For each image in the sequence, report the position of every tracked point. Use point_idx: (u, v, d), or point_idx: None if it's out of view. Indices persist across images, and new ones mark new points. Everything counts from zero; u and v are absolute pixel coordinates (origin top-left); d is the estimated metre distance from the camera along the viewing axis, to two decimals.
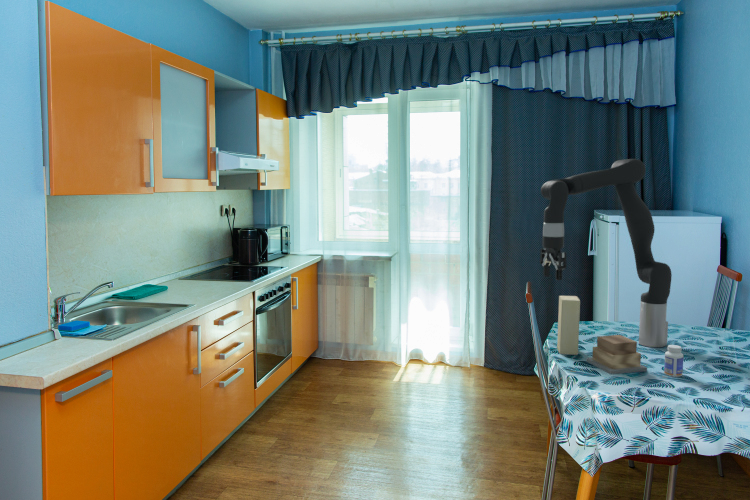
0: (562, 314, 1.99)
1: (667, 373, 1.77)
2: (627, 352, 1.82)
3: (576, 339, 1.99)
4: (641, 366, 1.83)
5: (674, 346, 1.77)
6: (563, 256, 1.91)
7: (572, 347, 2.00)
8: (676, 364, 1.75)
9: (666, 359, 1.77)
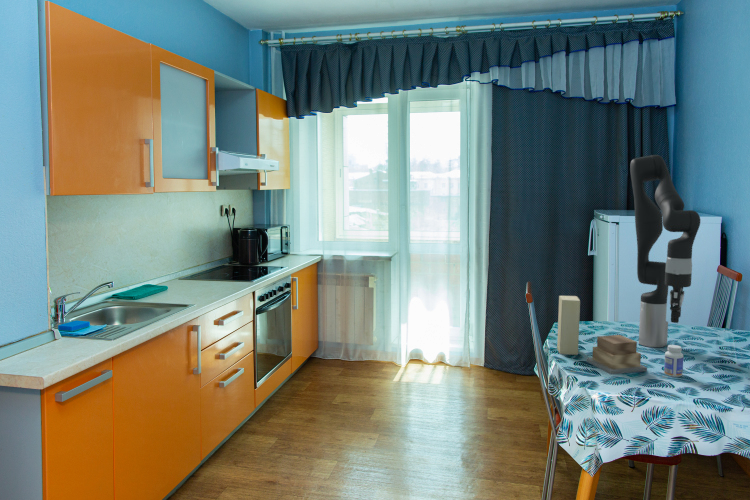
0: (562, 314, 1.99)
1: (667, 373, 1.77)
2: (627, 352, 1.82)
3: (576, 339, 1.99)
4: (641, 366, 1.83)
5: (674, 346, 1.77)
6: None
7: (572, 347, 2.00)
8: (676, 364, 1.75)
9: (666, 359, 1.77)
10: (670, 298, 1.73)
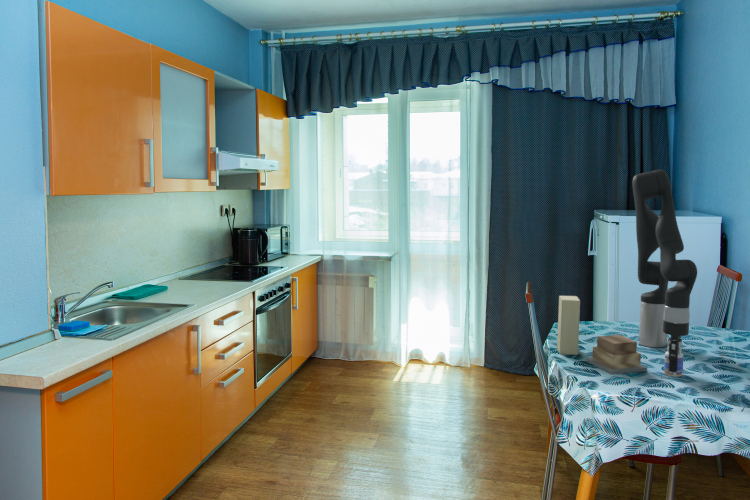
0: (562, 314, 1.99)
1: (667, 373, 1.77)
2: (627, 352, 1.82)
3: (576, 339, 1.99)
4: (641, 366, 1.83)
5: None
6: None
7: (572, 347, 2.00)
8: None
9: (666, 359, 1.77)
10: (668, 347, 1.75)
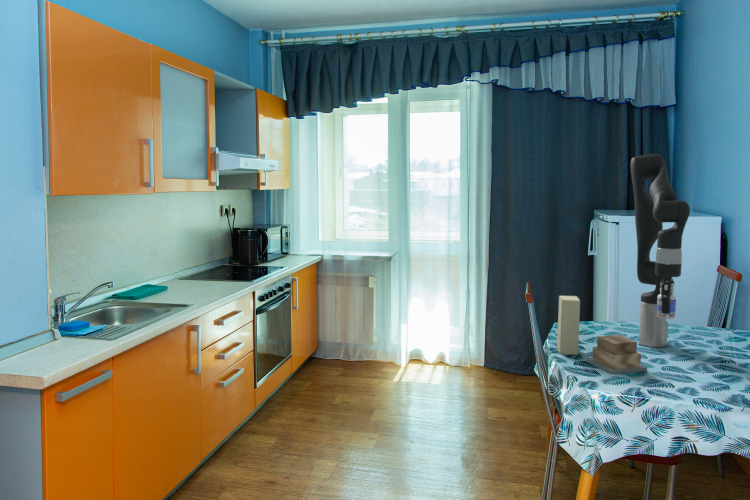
0: (562, 314, 1.99)
1: (660, 315, 1.76)
2: (627, 352, 1.82)
3: (576, 339, 1.99)
4: (641, 366, 1.83)
5: None
6: None
7: (572, 347, 2.00)
8: None
9: (659, 301, 1.76)
10: None
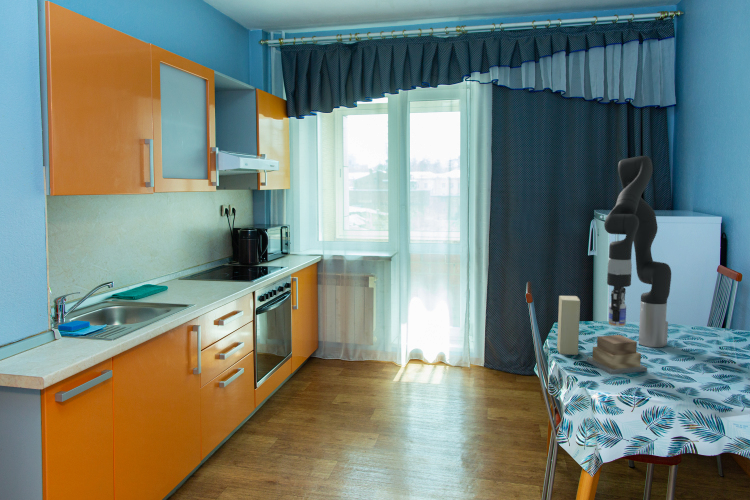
0: (562, 314, 1.99)
1: (611, 323, 1.84)
2: (627, 352, 1.82)
3: (576, 339, 1.99)
4: (641, 366, 1.83)
5: None
6: None
7: (572, 347, 2.00)
8: None
9: (610, 310, 1.85)
10: None
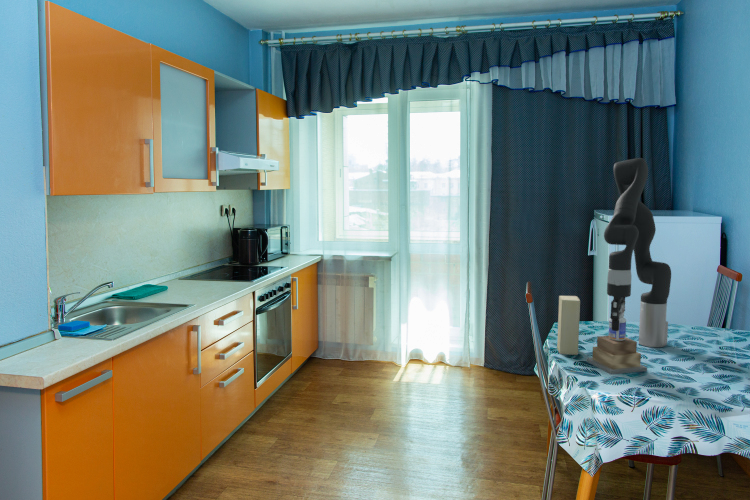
0: (562, 314, 1.99)
1: (611, 337, 1.85)
2: (627, 352, 1.82)
3: (576, 339, 1.99)
4: (641, 366, 1.83)
5: None
6: None
7: (572, 347, 2.00)
8: None
9: (610, 324, 1.85)
10: None
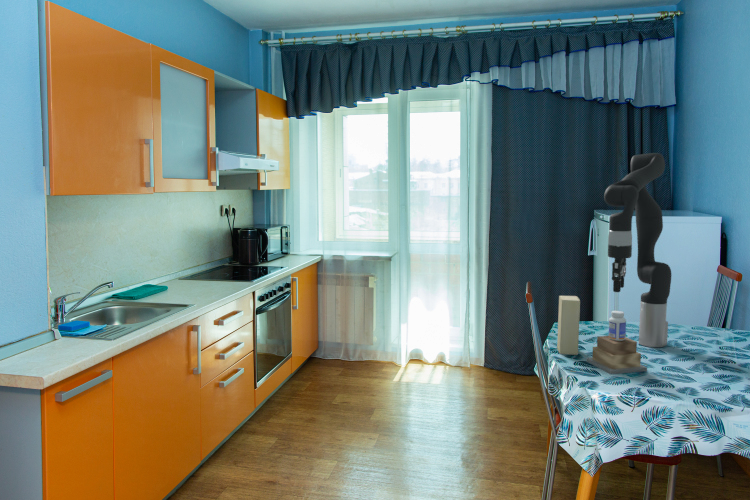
0: (562, 314, 1.99)
1: (611, 337, 1.85)
2: (627, 352, 1.82)
3: (576, 339, 1.99)
4: (641, 366, 1.83)
5: (617, 311, 1.85)
6: None
7: (572, 347, 2.00)
8: (618, 328, 1.83)
9: (610, 324, 1.85)
10: None
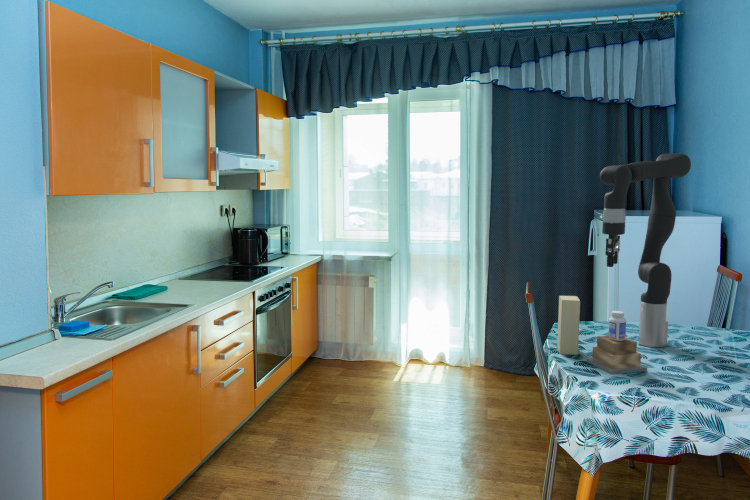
0: (562, 314, 1.99)
1: (611, 337, 1.85)
2: (627, 352, 1.82)
3: (576, 339, 1.99)
4: (641, 366, 1.83)
5: (617, 312, 1.85)
6: None
7: (572, 347, 2.00)
8: (618, 328, 1.83)
9: (610, 324, 1.85)
10: None
